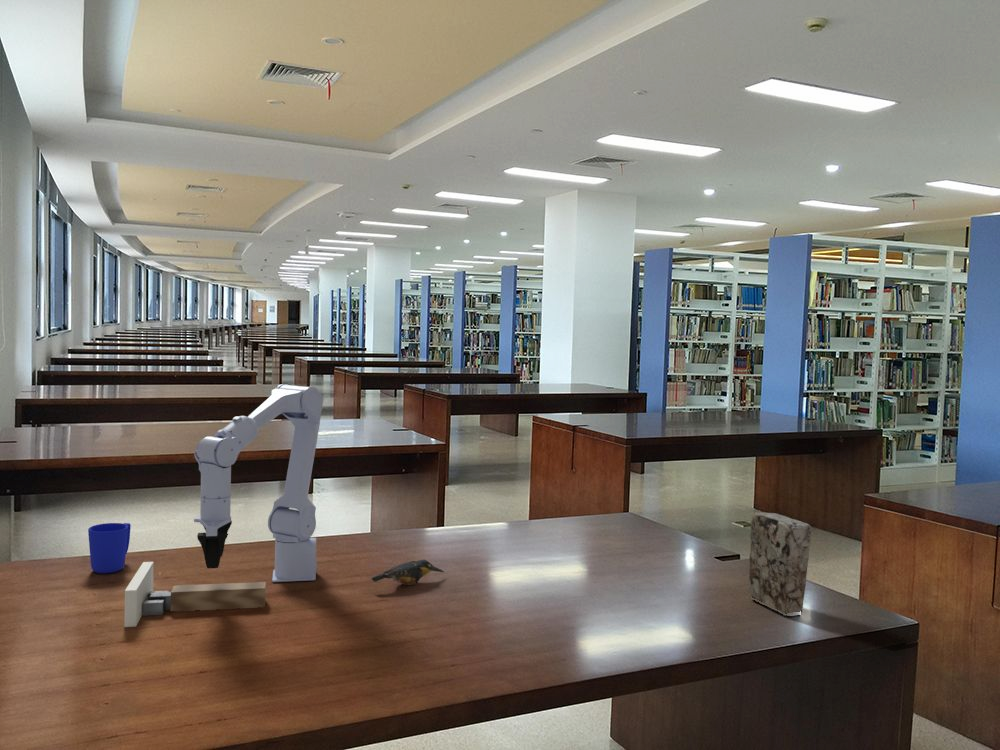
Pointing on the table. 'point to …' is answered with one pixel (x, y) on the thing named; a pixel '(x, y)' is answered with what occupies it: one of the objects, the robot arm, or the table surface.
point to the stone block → (779, 561)
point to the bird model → (407, 572)
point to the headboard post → (141, 596)
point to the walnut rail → (213, 596)
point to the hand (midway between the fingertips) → (214, 562)
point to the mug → (108, 546)
